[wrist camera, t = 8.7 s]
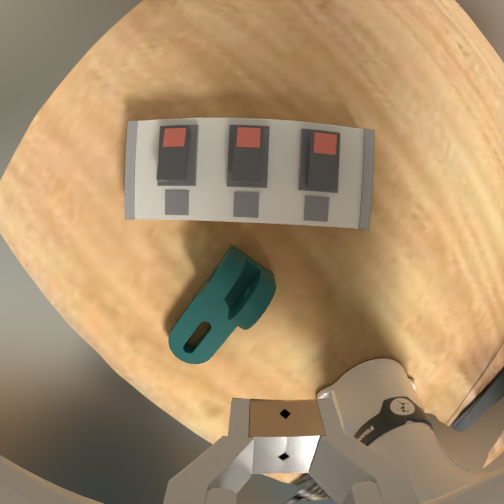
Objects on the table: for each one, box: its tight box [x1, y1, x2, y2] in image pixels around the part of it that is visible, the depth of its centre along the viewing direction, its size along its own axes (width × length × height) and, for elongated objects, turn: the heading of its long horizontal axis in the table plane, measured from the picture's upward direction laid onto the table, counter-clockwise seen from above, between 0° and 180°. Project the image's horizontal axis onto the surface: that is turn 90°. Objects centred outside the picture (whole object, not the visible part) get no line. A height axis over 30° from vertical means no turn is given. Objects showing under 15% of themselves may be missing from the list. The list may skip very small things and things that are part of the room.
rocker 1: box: [156, 127, 191, 182], centre depth 30 cm, size 6×3×1 cm, turn 178°
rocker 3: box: [307, 131, 340, 189], centre depth 30 cm, size 6×3×1 cm, turn 177°
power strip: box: [125, 118, 374, 230], centre depth 34 cm, size 12×29×5 cm, turn 88°
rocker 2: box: [232, 127, 263, 184], centre depth 30 cm, size 6×3×1 cm, turn 178°
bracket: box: [169, 245, 276, 364], centre depth 37 cm, size 18×7×8 cm, turn 144°
